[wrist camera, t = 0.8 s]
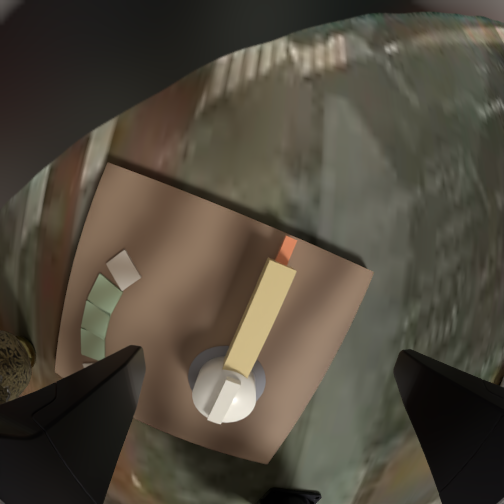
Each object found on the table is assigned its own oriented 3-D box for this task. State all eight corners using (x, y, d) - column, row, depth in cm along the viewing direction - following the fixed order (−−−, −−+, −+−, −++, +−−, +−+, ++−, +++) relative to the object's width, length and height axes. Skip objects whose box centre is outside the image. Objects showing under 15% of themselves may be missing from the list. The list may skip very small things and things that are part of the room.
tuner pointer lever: (242, 410, 20) (241, 434, 17) (190, 391, 20) (183, 414, 17) (318, 250, 20) (331, 253, 16) (260, 225, 19) (262, 223, 16)
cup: (5, 307, 21) (-46, 324, 13) (49, 331, 21) (-4, 359, 13) (9, 364, 22) (-33, 389, 14) (53, 391, 22) (12, 427, 14)
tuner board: (368, 270, 21) (375, 272, 20) (266, 456, 22) (267, 465, 21) (114, 165, 20) (106, 161, 19) (60, 367, 22) (53, 372, 20)
